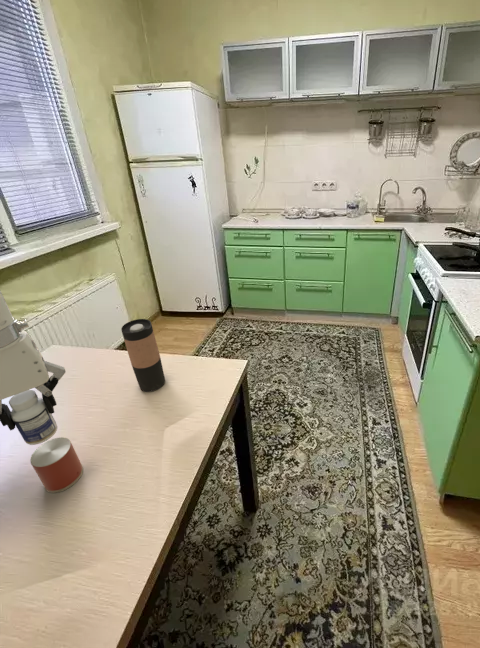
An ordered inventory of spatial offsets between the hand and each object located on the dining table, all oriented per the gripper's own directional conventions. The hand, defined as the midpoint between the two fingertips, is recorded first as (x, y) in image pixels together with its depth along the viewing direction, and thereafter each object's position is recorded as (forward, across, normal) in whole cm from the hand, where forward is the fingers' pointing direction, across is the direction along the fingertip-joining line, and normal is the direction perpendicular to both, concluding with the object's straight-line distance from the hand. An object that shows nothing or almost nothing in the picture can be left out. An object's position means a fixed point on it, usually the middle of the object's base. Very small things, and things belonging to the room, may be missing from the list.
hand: (32, 416), depth 61 cm
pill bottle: (+5, 0, 0) cm, 5 cm away
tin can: (+18, 0, 0) cm, 18 cm away
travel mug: (+18, -25, -18) cm, 35 cm away
